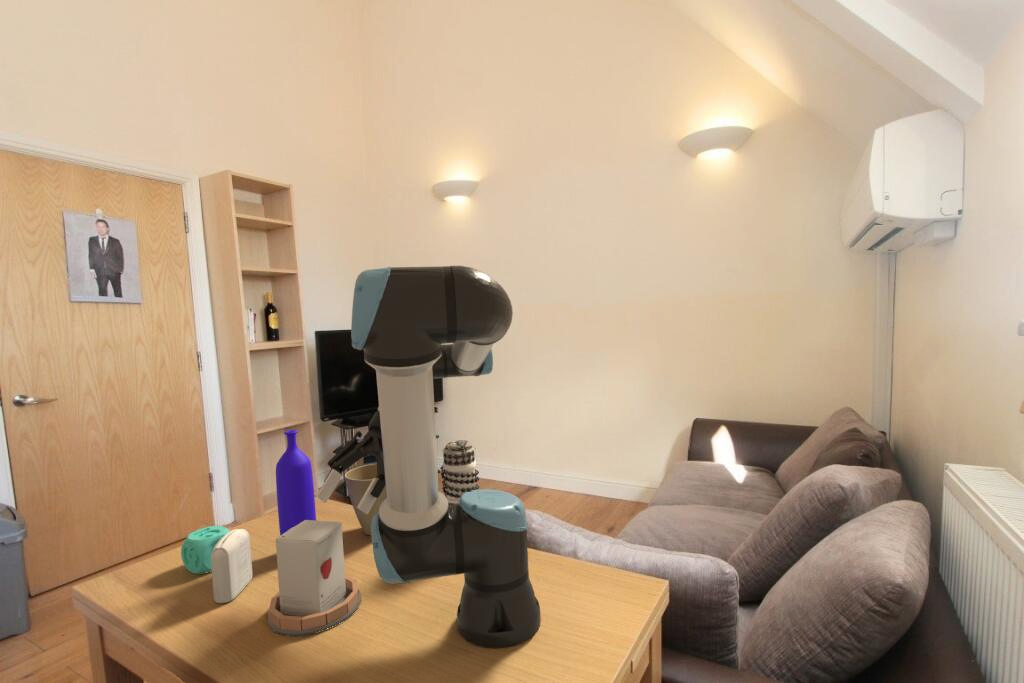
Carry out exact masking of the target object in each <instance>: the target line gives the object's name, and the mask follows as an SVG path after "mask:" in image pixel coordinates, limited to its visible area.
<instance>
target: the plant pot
mask: <svg viewBox="0 0 1024 683" xmlns="http://www.w3.org/2000/svg"><path fill="white" fill-rule="evenodd" d="M376 476H377V463H370V464H365V465H360V466H358V467H355V468H352V469H350V470H348V471H346V472H345V474H344V478H345V483H346V487H347V492H348V494H349V498H350V502H351V505H352V507H353V511H354V513H355V516H356V518H357V520H358V523H359V525H360V527H361V529H362V531H363V532H364V533H363V534H365V535H368V536H371V523H372V518H373V516H374V515H375V514H378V513H379V508H380V506H381V504H382V502H383V501H384V500H385V499H386V498H387V492H386V485H385V487H384V489H383V490H382V492H381V494H380V496H379V497H378V498H376V500H375V502H374V504H373V506H372V508H371V509H370V511H369V513H368V514H365V513H364V512H362V511H361V510H359V509H358V508H357V507H358V505H359V503H360V501H361V499H362V498H363V496H364V494H365V492H366V491H367V489H368V487H369V485H370V483H371V482H372V480H373V478H376V479H378V478H377V477H376Z"/></svg>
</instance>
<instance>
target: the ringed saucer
mask: <svg viewBox="0 0 1024 683" xmlns="http://www.w3.org/2000/svg"><path fill="white" fill-rule="evenodd" d="M345 583H346V594H345V595H344V596H343V597H342V598H341V599H340V600H339V601H338V602H337V603H336V604H335V605H334V606H333V607H332V608H331V609H329V610H327V611H325V612H321V613H317V614H312V615H308V616H294V615H286V614H282V613H281V612H280V597H279V591H277V593H275V595H274V596H272V597H271V598H270V603H269V607H268V614H267V625H268V624H269V625H268V627H269V626H270V627H269V629H270V628H271V629H272V630H274V631H275V632H277V633H276V634H278V633H279V634H278V635H281V634H282V635H281V636H285V635H289V636H288V637H301V636H300V635H305V636H310V634H311V635H314V633H315V634H317V633H316V632H319V631H322V630H325V631H327V630H326V629H327V628H330V627H332V626H335V625H337V624H339V623H341V622H342V623H344V622H346V621H347V620H348V619H349V617H350V616H351V615H352V614H353V613H354V612H355V611H356V610H357V611H358V609H359V608H360V606H361V604H360V603H362V593H361V590H360V589H359V582H358V580H357V579H356V578H354V577H352V576H350V575H348V574H347V573H345ZM359 605H360V606H359ZM358 607H359V608H358ZM357 611H356V612H357ZM356 612H355V613H356ZM355 613H354V614H355ZM354 614H353V615H354ZM353 615H352V616H353ZM352 616H351V617H352ZM351 617H350V618H351ZM346 619H347V620H346ZM345 620H346V621H345ZM343 621H344V622H343ZM342 623H341V624H342ZM339 625H340V624H339ZM337 626H338V625H337ZM335 627H336V626H335ZM271 629H270V630H271ZM330 629H331V628H330ZM272 630H271V631H272ZM274 631H273V632H274ZM275 632H274V633H275ZM322 632H323V631H322ZM319 633H320V632H319Z"/></svg>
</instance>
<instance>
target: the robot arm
mask: <svg viewBox="0 0 1024 683" xmlns="http://www.w3.org/2000/svg"><path fill="white" fill-rule="evenodd" d="M352 299H353V300H352V310H351V313H352V314H351V324H350V326H351V330H350V331H351V332H350V333H351V335H350V337H351V346H352V348H353V349H355V350H358V351H362V350H363V358H364V362H365V363H366V364H367V365H368V366H370V367H372V369H374V370H375V373H376V374H375V375H376V376H375V377H376V386H377V396H378V407H377V411H375V413H374V414H373V416H372V418H371V419H370V421H369V423H368V427H369V428H368V430H369V431H367V432H366V434H365V433H363V432H361V431H360V430H358V431H357V432H356V433H355V434H354V436H353V437H352V439H350V440H349V441H348V442H347V443H346V444H345V445H344V446H343V447H342V448H341V449H340V450H339V451H338V452H337V453H336V454H335V455H334V456H333V457H332V458H331V459H330V460H328V461H327V463H326V464H327V466H329V468H330V470H329V472H328V474H327V476H326V477H325V479H324V481H323V484H322V485H321V486H320V488H319V490H318V492H317V493H316V495H315V497H316V498H317V499H318V500H320V501H321V502H323V503H327V502H328V501H329V499H330V498H331V495H332V494H333V492H334V491H335V489H336V487H337V486H338V484H339V482H340V480H341V479H342V477H343V472H345V471H346V470H347V469H349V468H350V467H352V466H353V465H354V464H355V463H357V462H358V461H360V460H361V459H362V458H366V457H372V456H373V457H375V458H376V464H377V476H376V477H377V478H378V479H376V478H373V480H372V482H371V483H370V485H369V487H368V489H367V491H366V492H365V494H364V496H363V498H362V499H361V501H360V503H359V505H358V507H357V508H358V509H359V510H361V511H362V512H364V513H365V514H368V513H369V511H370V509H371V508H372V506H373V504H374V502H375V500H376V498H378V497H379V496H380V494H381V492H382V490H383V489H384V487H385V485H386V492H387V498H386V499H385V500H384V501H383V502H382V504H381V506H380V508H379V513H378V514H375V515H374V516H373V518H372V523H371V535H370V537H371V543H372V553H373V557H374V558H373V560H374V563H375V566H376V571H377V572H378V576H379V577H380V579H381V580H382V581H383V582H385V583H387V584H401V583H403V584H407V583H408V584H410V583H412V582H417V581H423V580H428V579H435V578H442V577H443V578H444V577H448V576H455V575H462V574H463V575H464V583H463V587H462V592H461V595H460V600H459V601H460V602H459V604H458V607H457V611H456V625H457V626H456V627H457V630H458V633H459V635H460V636H461V637H462V638H463V640H465V641H466V642H468V643H470V644H472V645H474V646H478V647H481V648H486V649H501V648H508V647H513V646H517V645H519V644H521V643H523V642H525V641H527V640H528V639H531V637H533V635H535V634H536V632H537V631H538V630H539V628H540V626H541V622H542V620H541V618H542V617H541V606H540V603H539V600H538V598H537V597H536V593H535V591H534V588H533V584H532V582H531V579H530V575H529V574H530V572H529V571H530V570H529V554H528V553H529V551H528V549H529V548H528V533H527V531H528V522H527V517H526V516H527V515H526V507H525V505H524V503H523V501H522V500H521V499H520V498H518V497H517V496H516V495H515V494H512V493H510V492H506V491H503V490H499V489H489V488H483V489H480V488H478V489H477V490H472V491H470V492H466V493H464V494H463V495H462V496H461V498H460V500H459V504H454V505H448V500H447V498H446V496H445V493H444V492H441V491H440V490H439V474H438V473H439V472H438V454H437V451H438V450H437V434H436V431H437V430H436V414H435V411H436V410H435V395H434V394H435V392H434V379H446V378H460V377H462V378H463V377H480V376H483V375H490V374H491V373H492V372H493V367H494V357H493V349H492V348H493V346H494V344H496V343H497V342H499V341H501V340H502V339H503V338H504V336H505V335H506V334H507V332H508V331H509V330H510V327H511V324H512V321H513V306H512V305H513V304H512V301H511V299H510V297H509V295H508V293H507V291H506V290H505V289H504V287H503V286H502V285H501V284H500V283H499V282H498V281H497V280H495V279H494V277H492V276H490V275H488V274H487V273H485V272H483V271H481V270H478V269H476V268H474V267H470V266H464V265H449V266H448V265H446V266H445V265H444V266H403V267H402V266H400V267H399V266H396V267H394V266H392V267H391V266H388V267H382V268H373V269H372V268H371V269H365V270H363V271H362V272H360V273H359V274H358V275H357V277H356V280H355V283H354V290H353V298H352Z"/></svg>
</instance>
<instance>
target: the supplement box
mask: <svg viewBox="0 0 1024 683" xmlns="http://www.w3.org/2000/svg"><path fill="white" fill-rule="evenodd" d="M342 526H343V524H342V522H341V521H333V520H332V521H327V520H316V521H315V520H304V521H303V522H301V523H300V524H298V525H296V526H295V527H293V528H291V529H289V530H288V531H287V532H285V533H284V534H282V535H280V534H279V535H278V536H277V537H276V538H275V551H276V562H277V565H276V566H277V580H278V592H279V597H280V612H281V613H282V614H286V615H294V616H308V615H312V614H317V613H321V612H325V611H327V610H329V609H331V608H332V607H333V606H334V605H335V604H336V603H337V602H338V601H339V600H340V599H341V598H342V597H343V596H344V595H345V594H346V583H345V574H346V572H345V568H346V567H345V556H344V544H343V540H344V539H343V527H342Z"/></svg>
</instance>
